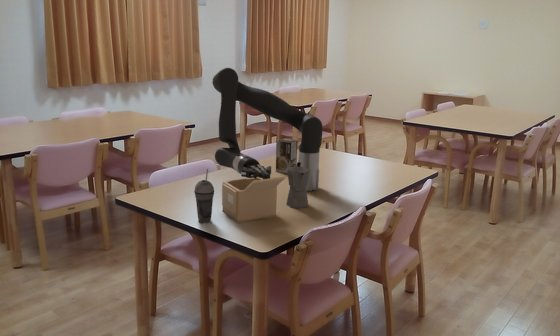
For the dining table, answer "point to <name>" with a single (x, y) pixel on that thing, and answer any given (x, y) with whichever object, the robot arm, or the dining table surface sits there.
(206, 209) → the beverage cup
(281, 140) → the coffee box
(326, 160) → the dining table surface
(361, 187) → the dining table surface
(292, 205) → the coffeepot
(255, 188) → the flap
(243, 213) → the carton
